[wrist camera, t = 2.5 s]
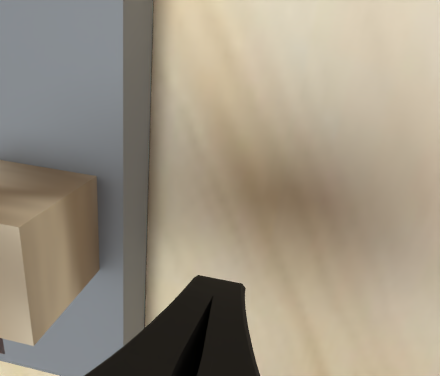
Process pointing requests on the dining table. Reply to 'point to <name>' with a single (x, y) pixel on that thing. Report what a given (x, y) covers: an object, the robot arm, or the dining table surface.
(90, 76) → the trap board
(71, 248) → the beech block
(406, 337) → the dining table surface
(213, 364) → the robot arm
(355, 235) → the dining table surface
